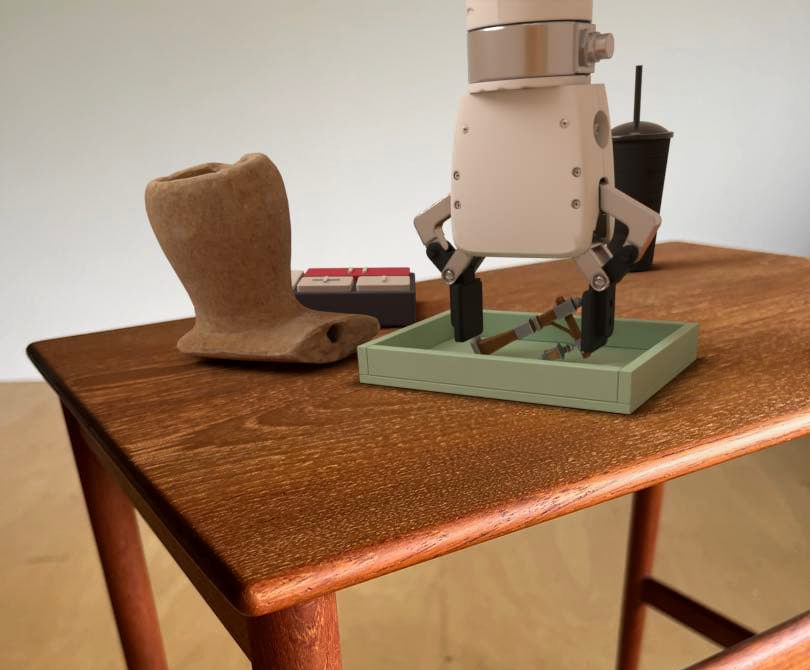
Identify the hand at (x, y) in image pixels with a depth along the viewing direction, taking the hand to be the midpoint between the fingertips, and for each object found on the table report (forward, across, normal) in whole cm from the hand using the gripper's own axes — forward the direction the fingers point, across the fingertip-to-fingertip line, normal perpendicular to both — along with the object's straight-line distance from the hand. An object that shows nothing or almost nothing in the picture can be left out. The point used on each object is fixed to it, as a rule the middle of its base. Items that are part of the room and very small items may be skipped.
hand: (529, 342), depth 61 cm
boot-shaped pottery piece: (+2, +21, +4) cm, 21 cm away
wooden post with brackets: (+2, 0, 0) cm, 2 cm away
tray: (+2, 0, 0) cm, 2 cm away
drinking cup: (+2, +8, -43) cm, 44 cm away
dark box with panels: (+2, +25, -11) cm, 27 cm away
